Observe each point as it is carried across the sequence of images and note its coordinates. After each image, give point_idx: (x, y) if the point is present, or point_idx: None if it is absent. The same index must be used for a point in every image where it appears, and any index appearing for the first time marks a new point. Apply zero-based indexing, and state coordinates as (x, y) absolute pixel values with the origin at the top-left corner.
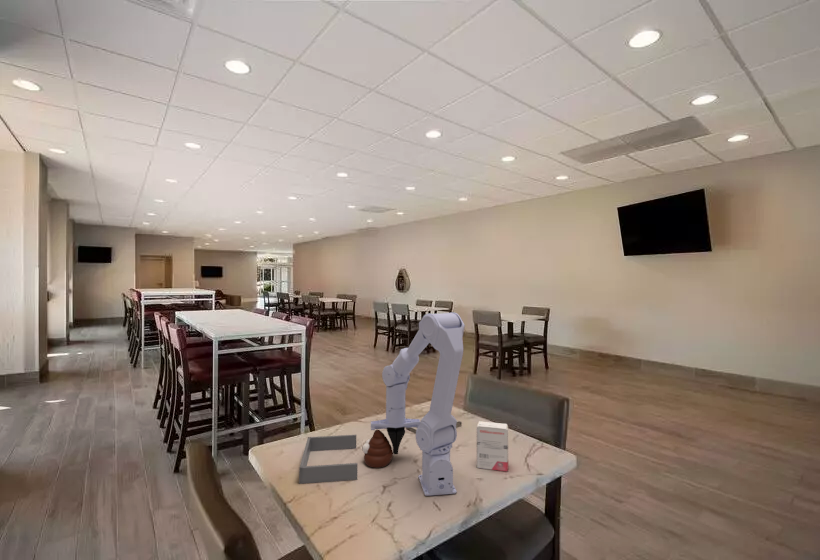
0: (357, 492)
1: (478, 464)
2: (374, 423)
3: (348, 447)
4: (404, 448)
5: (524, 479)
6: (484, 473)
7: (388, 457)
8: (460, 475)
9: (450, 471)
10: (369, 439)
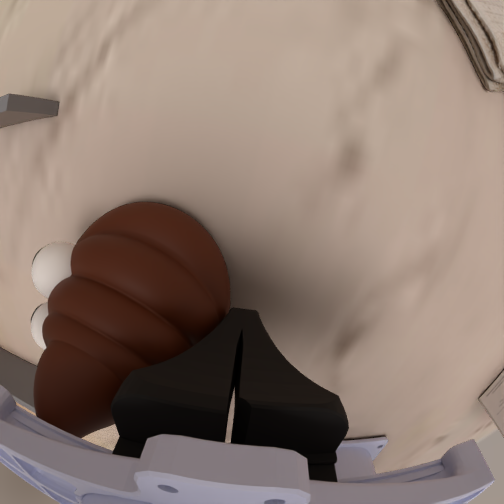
0: (103, 435)
1: (483, 406)
2: (6, 465)
3: (25, 120)
4: (346, 171)
5: (493, 428)
6: (467, 419)
7: None
8: (417, 432)
9: None
10: (40, 285)
